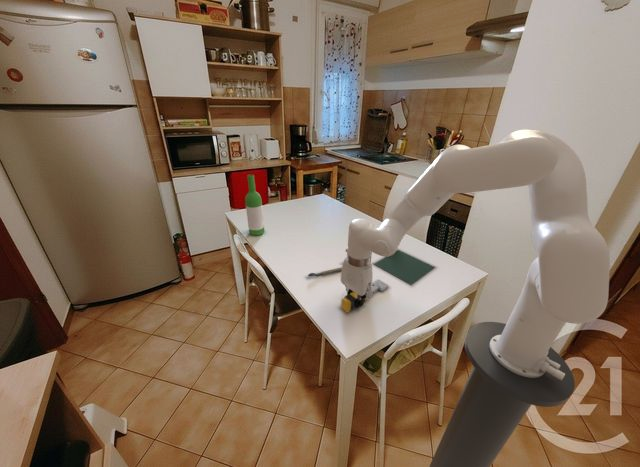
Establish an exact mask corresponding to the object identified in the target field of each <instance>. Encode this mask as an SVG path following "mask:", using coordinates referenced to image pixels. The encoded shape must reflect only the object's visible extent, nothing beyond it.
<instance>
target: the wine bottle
mask: <svg viewBox="0 0 640 467" xmlns="http://www.w3.org/2000/svg"><path fill="white" fill-rule="evenodd" d="M247 182H248V183H247V184H248V185H247V186H248V192H247V194H246V195H245V198H244V202H245V209H246V210H245V212H246V218H247V219H246V220H247V226H248V231H249V232H248V233H249V234H250V235H251V236H261V235H263V234H264V233H265V220H264V211H263V201H262V196H261V195H260V193H259V192H257V191H256V182H255V175H254V174H248V175H247Z"/></svg>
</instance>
